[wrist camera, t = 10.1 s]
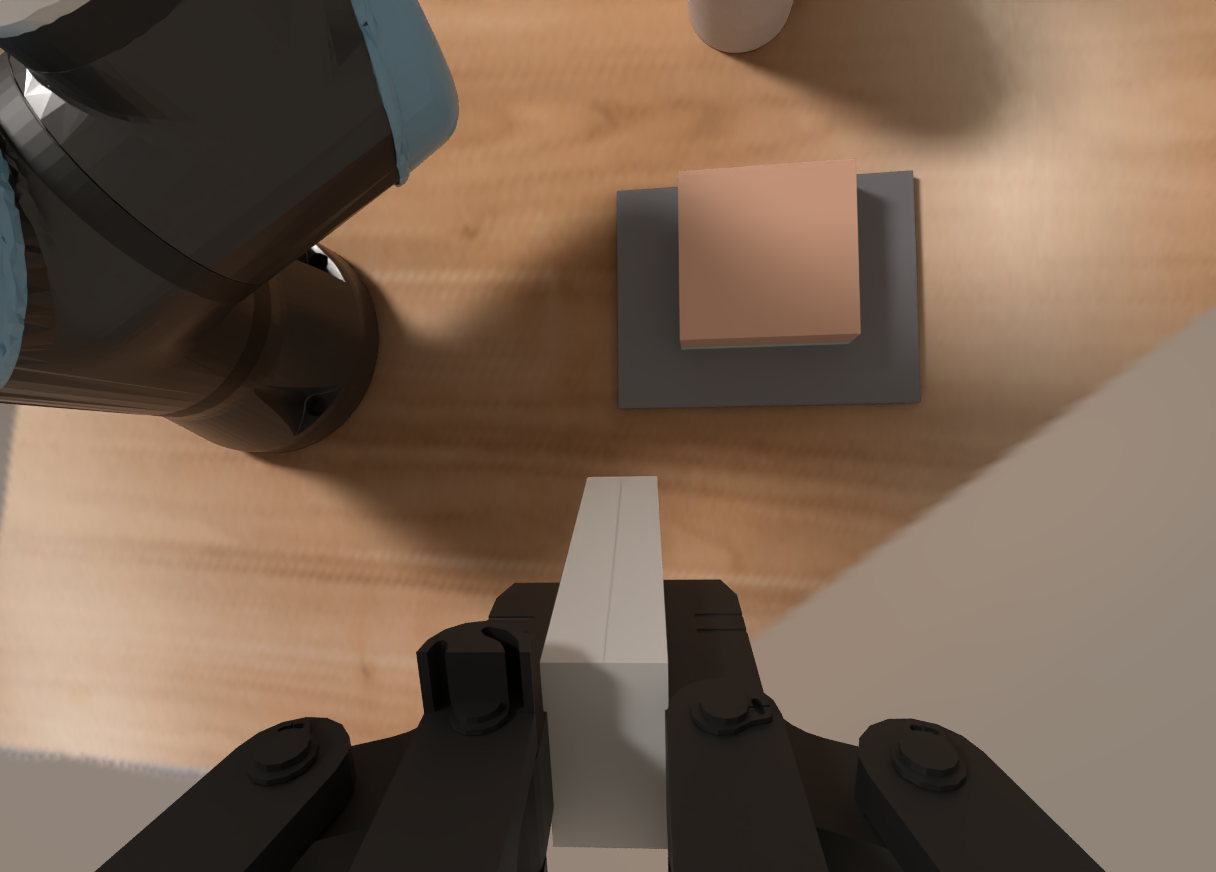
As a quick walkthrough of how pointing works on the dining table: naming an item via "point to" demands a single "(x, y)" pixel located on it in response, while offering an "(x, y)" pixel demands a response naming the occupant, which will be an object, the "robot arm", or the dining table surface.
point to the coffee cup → (738, 22)
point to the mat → (780, 374)
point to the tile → (769, 255)
